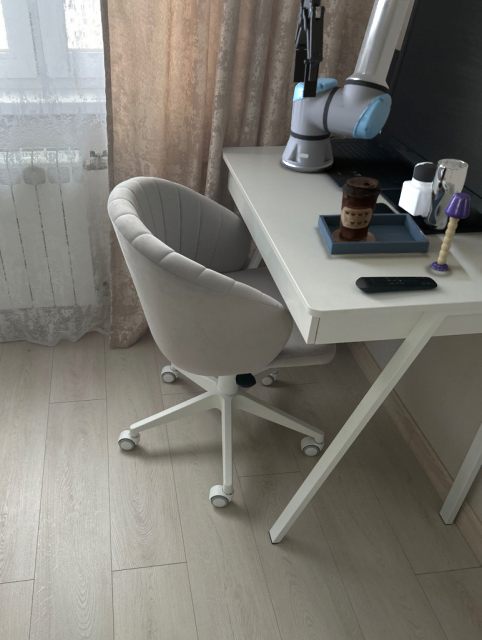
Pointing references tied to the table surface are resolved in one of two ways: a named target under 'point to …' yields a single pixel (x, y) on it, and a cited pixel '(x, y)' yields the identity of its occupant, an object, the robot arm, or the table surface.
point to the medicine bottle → (418, 190)
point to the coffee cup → (358, 207)
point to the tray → (378, 235)
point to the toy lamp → (452, 227)
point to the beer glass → (444, 191)
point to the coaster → (338, 239)
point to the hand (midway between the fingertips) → (303, 89)
